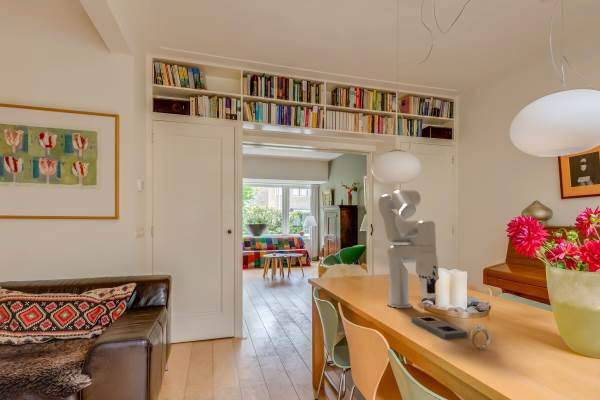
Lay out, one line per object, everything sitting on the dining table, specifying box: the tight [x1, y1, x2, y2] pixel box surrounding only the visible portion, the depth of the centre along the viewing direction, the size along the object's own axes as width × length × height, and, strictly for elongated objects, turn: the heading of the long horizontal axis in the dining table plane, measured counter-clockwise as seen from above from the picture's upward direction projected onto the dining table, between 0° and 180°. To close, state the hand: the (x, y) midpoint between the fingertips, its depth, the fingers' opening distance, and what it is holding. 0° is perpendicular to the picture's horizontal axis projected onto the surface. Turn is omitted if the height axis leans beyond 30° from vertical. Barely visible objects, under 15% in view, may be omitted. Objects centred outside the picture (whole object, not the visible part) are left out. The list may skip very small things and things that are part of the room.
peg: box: [420, 277, 436, 299], centre depth 144 cm, size 4×4×8 cm
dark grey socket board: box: [411, 315, 468, 341], centre depth 137 cm, size 22×10×2 cm, turn 14°
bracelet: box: [469, 324, 491, 350], centre depth 117 cm, size 7×3×8 cm, turn 94°
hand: (428, 291), depth 144 cm, fingers closed on peg, 4 cm apart
